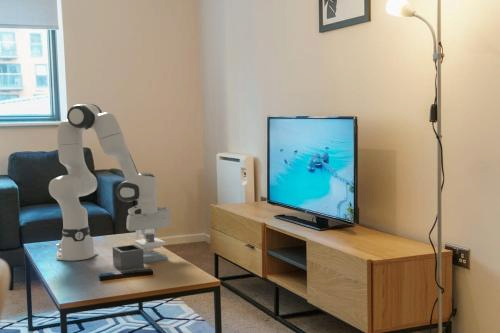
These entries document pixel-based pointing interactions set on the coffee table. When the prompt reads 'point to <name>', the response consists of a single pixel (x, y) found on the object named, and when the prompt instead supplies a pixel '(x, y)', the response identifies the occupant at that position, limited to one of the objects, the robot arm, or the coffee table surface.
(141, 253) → the tin box
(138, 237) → the figurine
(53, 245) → the coffee table surface
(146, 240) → the lid
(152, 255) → the slate mat
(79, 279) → the coffee table surface
